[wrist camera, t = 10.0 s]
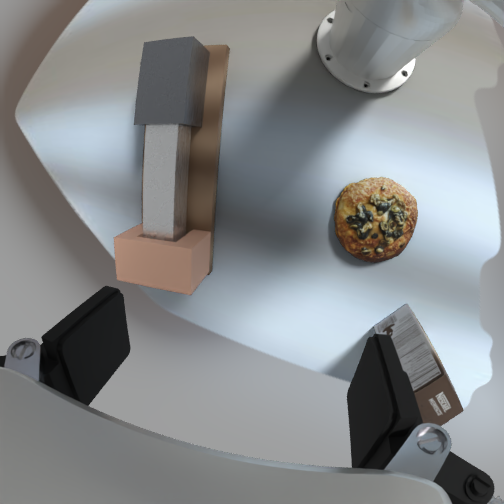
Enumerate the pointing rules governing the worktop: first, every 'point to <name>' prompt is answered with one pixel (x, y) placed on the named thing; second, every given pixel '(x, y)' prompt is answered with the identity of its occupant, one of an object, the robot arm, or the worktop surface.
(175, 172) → the light grey bar
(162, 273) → the socket block
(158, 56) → the sleeve
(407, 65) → the robot arm
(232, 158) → the worktop surface
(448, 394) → the coffee box
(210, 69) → the base board
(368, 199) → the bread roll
